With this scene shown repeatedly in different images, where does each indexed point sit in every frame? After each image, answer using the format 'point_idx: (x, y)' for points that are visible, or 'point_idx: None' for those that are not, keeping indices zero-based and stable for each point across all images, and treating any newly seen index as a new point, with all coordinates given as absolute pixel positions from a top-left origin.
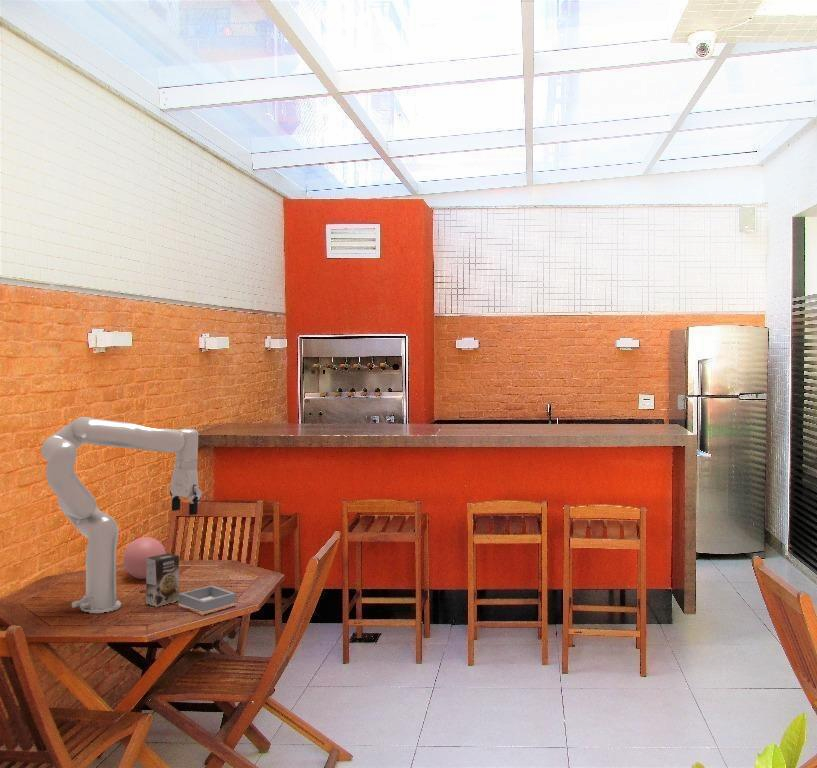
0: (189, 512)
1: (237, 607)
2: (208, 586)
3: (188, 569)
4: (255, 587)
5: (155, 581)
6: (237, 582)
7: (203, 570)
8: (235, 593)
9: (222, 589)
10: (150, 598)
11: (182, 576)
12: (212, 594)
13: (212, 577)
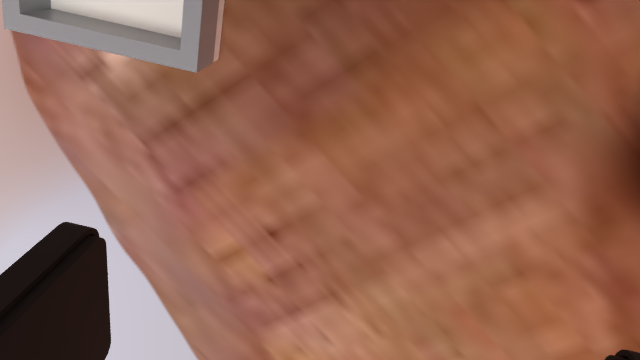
0: (50, 244)
1: None
2: (191, 47)
3: (606, 340)
4: (183, 261)
5: None
6: (287, 282)
7: (530, 352)
8: (4, 26)
9: (99, 44)
10: None
11: (565, 251)
12: (178, 40)
13: (426, 293)
